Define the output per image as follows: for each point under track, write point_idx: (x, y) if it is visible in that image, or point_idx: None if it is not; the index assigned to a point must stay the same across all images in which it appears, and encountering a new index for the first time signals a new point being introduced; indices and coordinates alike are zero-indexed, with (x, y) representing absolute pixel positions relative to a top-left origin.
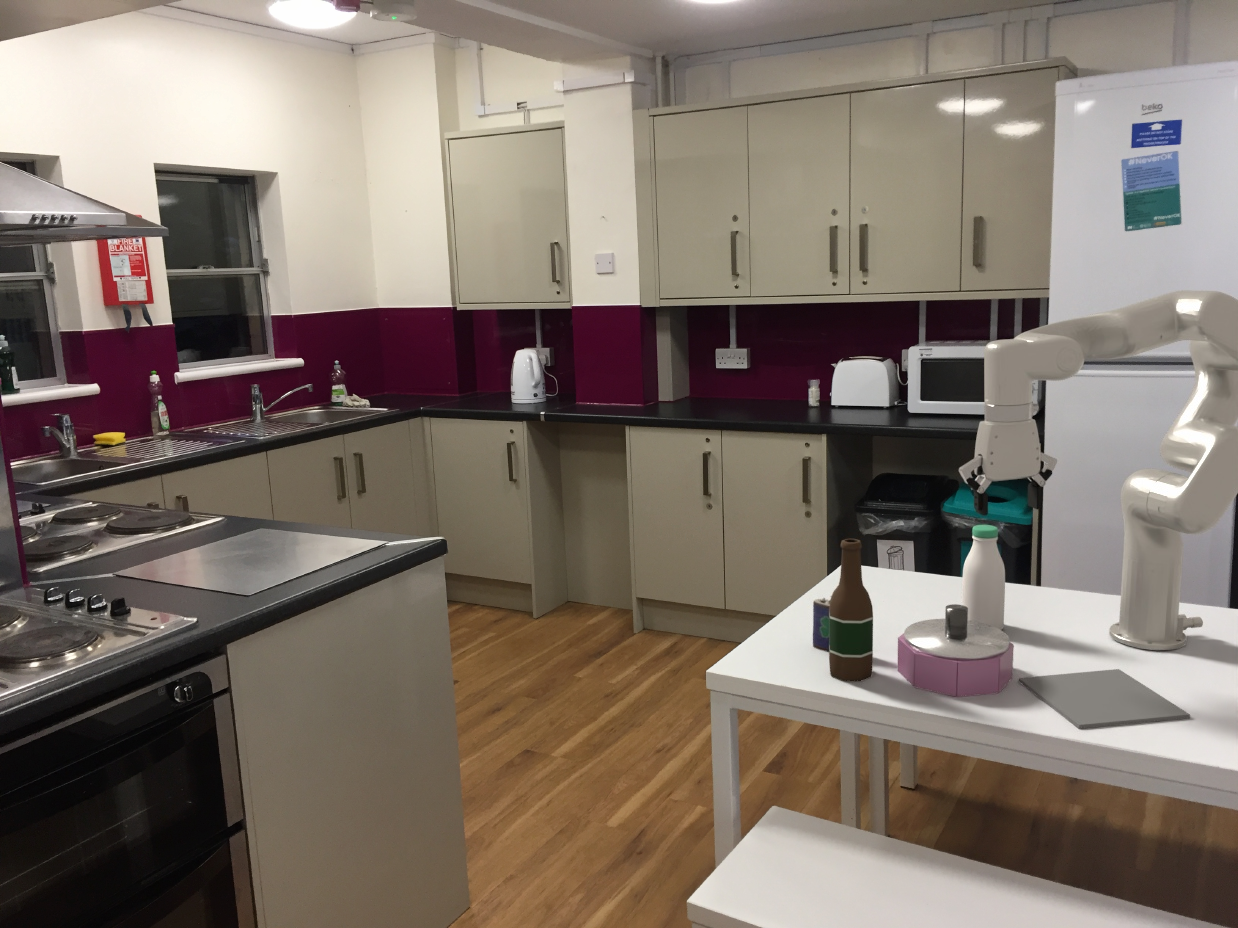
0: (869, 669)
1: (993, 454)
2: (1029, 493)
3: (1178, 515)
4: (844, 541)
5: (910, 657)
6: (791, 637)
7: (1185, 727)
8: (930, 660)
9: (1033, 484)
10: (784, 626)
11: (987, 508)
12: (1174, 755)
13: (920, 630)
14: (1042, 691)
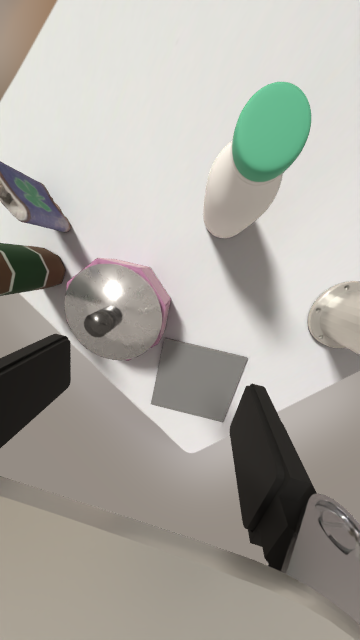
0: (53, 285)
1: None
2: (255, 436)
3: None
4: None
5: None
6: (17, 148)
7: (209, 425)
8: None
9: (270, 522)
10: (16, 102)
11: (52, 399)
12: (175, 439)
13: (86, 288)
14: (163, 363)
